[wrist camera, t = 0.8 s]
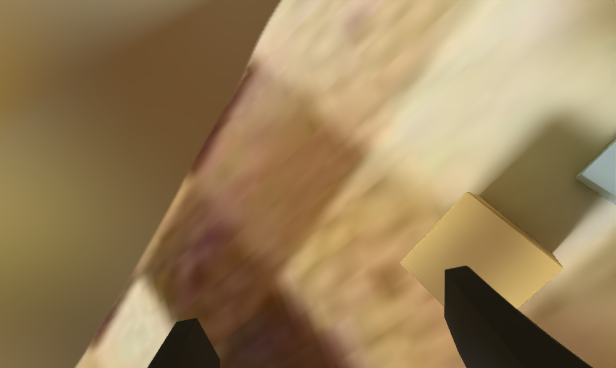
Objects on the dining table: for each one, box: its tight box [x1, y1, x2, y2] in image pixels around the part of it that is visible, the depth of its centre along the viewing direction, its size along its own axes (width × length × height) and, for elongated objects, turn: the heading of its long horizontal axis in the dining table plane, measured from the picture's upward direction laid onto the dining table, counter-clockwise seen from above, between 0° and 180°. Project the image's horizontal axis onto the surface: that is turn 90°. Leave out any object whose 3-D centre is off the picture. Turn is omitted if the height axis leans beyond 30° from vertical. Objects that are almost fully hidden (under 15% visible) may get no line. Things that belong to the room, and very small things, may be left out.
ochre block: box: [400, 192, 563, 309], centre depth 19 cm, size 5×5×6 cm
